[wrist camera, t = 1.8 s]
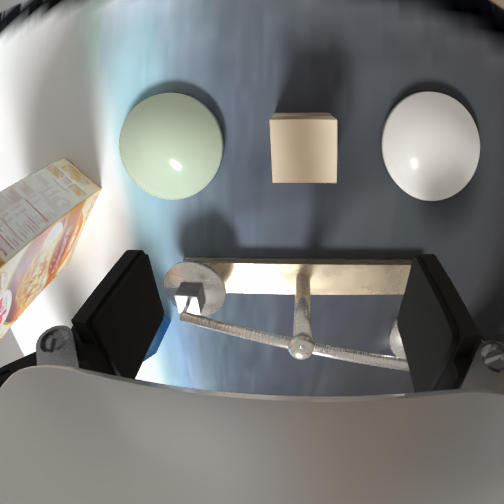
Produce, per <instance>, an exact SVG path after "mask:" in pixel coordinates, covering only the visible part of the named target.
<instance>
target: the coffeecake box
mask: <svg viewBox="0 0 504 504" xmlns="http://www.w3.org/2000/svg"><path fill="white" fill-rule="evenodd" d="M100 191H101V188H100V187H99V186H98V185H97V184H95V183H94V182H93V181H92V180H91V179H89V178H88V177H86V176H85V175H84V174H82V173H81V172H80V171H79V170H78V169H77V168H76V167H75V166H74V165H73V164H72V163H70V162H69V161H68V160H67V159H66V158H63V159H61V160H59V161H57V162H55V163H52V164H50V165H49V166H47V167H45V168H43V169H41V170H39V171H37V172H35V173H33V174H31V175H29V176H27V177H25V178H24V179H22V180H20V181H18V182H16V183H15V184H13V185H11V186H9V187H8V188H6V189H4V190H2V191H1V192H0V339H1V337H2V336H3V335H4V334H5V333H6V332H7V330H8V329H9V328H10V327H11V326H12V324H13V323H14V322H15V321H16V320H17V318H18V317H19V316H20V315H21V314H22V313H23V311H24V310H25V309H26V308H27V307H28V306H29V305H30V303H31V302H32V301H33V300H34V299H35V298H36V297H37V296H38V295H39V293H40V292H41V291H42V290H43V289H44V288H45V287H46V286H47V285H48V284H49V283H50V282H51V281H52V279H53V278H54V277H55V276H56V275H57V274H58V273H59V272H60V271H61V270H62V269H63V268H64V267H65V266H66V265H68V263H69V260H70V258H71V256H72V253H73V251H74V248H75V246H76V244H77V241H78V239H79V237H80V234H81V232H82V230H83V227H84V225H85V223H86V221H87V218H88V216H89V214H90V212H91V210H92V208H93V206H94V203H95V201H96V199H97V197H98V195H99V193H100Z"/></svg>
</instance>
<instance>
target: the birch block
mask: <svg viewBox="0 0 504 504" xmlns="http://www.w3.org/2000/svg"><path fill="white" fill-rule="evenodd" d="M270 138H271V157H272V177H273V183H337V119H336V118H334V117H333V116H332V115H331V114H330V113H274V115H273V116H272V117H271V119H270Z"/></svg>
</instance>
